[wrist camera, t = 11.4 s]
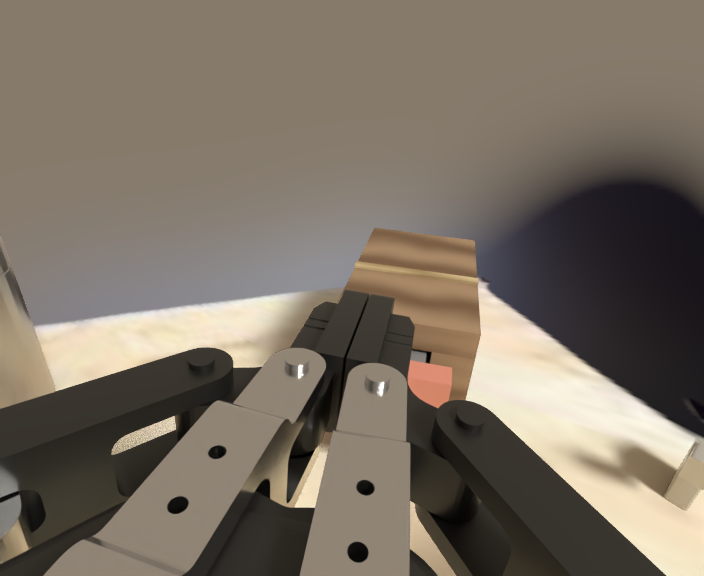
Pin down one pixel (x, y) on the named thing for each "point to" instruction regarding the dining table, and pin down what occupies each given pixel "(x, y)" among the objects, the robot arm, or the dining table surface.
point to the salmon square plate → (429, 379)
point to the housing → (428, 294)
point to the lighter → (688, 478)
